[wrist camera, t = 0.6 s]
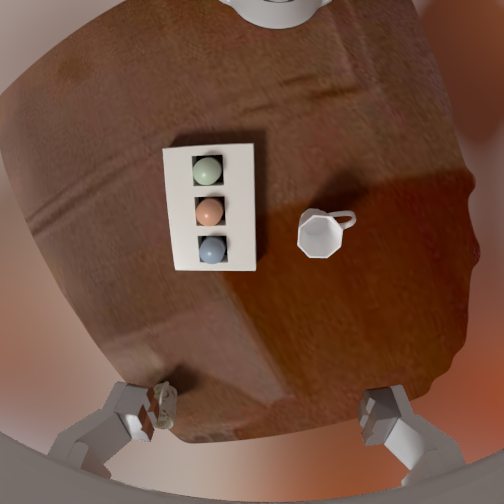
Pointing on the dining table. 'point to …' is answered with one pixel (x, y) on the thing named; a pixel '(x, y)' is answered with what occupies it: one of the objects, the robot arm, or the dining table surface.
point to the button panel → (189, 190)
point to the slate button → (212, 249)
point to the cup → (322, 232)
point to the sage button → (207, 170)
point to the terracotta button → (209, 211)
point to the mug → (165, 405)
